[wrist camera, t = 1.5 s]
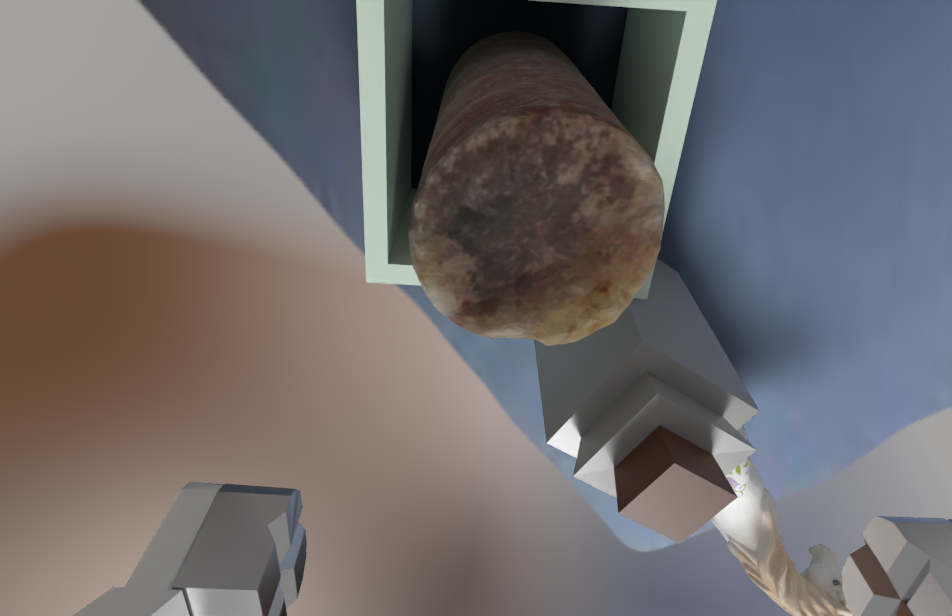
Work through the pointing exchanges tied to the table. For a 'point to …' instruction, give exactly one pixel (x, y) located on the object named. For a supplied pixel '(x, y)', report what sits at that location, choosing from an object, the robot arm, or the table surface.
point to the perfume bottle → (650, 410)
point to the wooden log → (532, 199)
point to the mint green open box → (634, 103)
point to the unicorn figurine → (777, 550)
